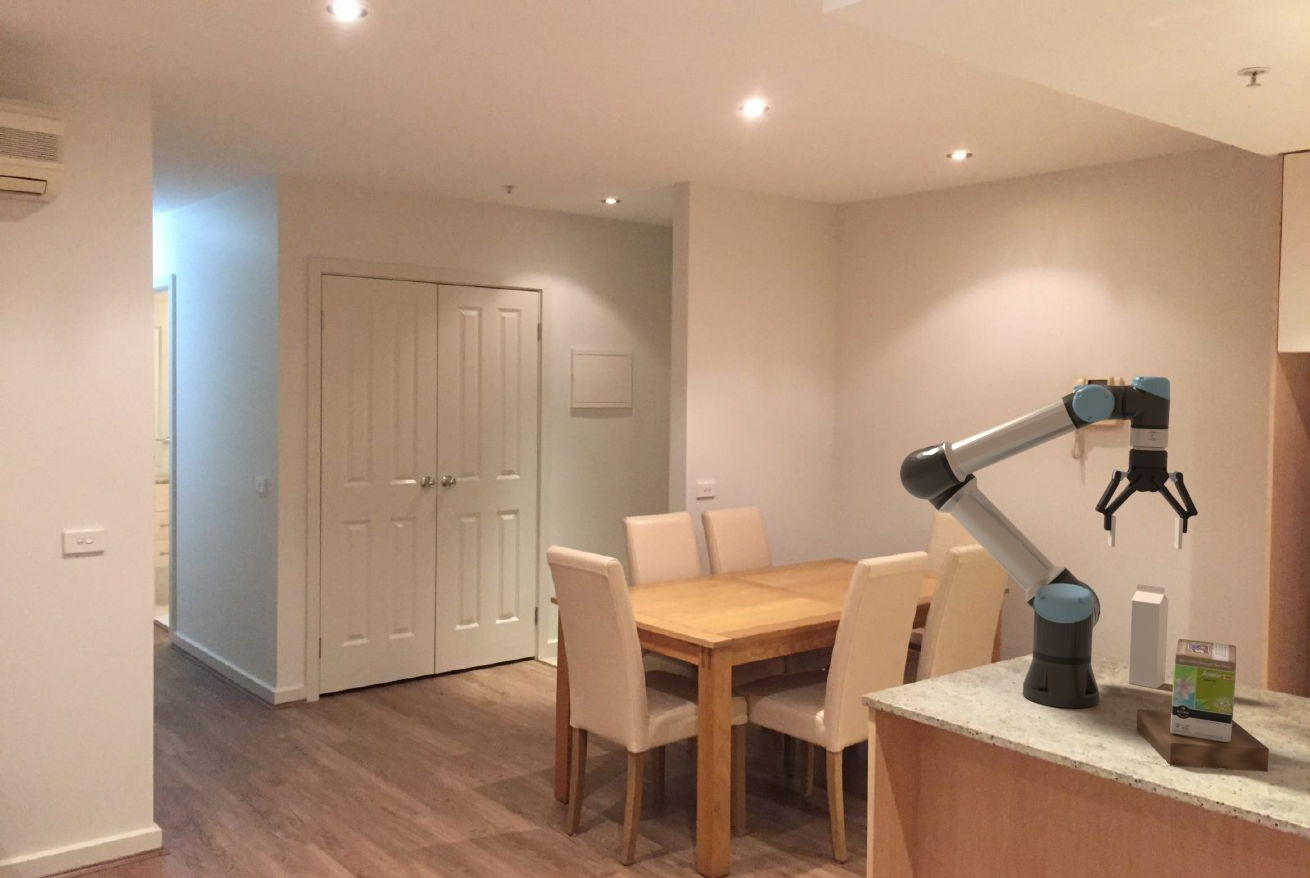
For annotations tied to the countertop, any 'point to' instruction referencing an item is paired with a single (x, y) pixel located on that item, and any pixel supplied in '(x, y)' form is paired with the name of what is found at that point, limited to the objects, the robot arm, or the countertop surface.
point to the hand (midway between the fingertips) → (1144, 547)
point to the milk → (1148, 637)
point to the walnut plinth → (1201, 745)
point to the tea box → (1203, 690)
